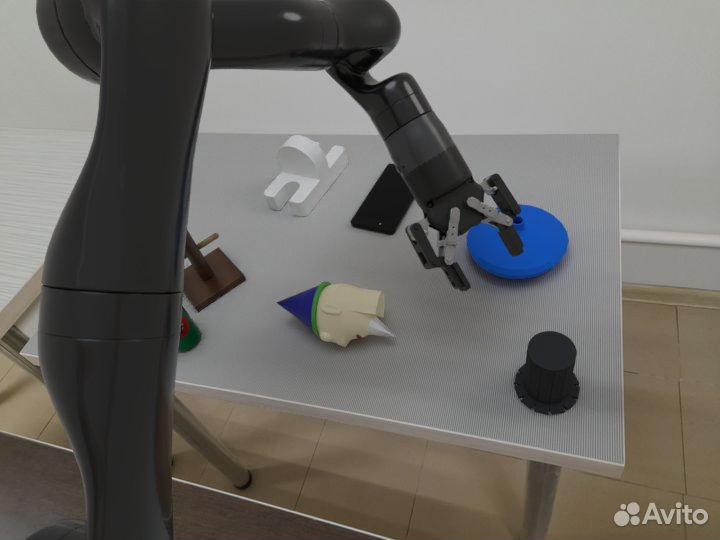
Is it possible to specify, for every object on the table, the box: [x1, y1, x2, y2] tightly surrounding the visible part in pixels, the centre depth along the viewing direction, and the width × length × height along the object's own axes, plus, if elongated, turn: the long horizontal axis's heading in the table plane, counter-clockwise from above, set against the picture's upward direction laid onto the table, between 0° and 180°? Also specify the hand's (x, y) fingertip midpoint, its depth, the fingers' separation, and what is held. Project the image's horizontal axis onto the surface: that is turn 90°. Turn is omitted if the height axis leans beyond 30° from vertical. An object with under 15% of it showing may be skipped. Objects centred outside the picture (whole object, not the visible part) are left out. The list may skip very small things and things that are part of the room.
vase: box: [466, 203, 570, 280], centre depth 84 cm, size 16×16×7 cm
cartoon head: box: [275, 281, 397, 348], centre depth 80 cm, size 9×10×20 cm
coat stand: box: [182, 229, 247, 313], centre depth 88 cm, size 11×10×20 cm
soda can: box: [178, 305, 201, 352], centre depth 82 cm, size 5×5×12 cm
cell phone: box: [350, 163, 415, 235], centre depth 100 cm, size 9×18×1 cm, turn 154°
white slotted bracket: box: [263, 134, 349, 218], centre depth 104 cm, size 10×18×11 cm, turn 152°
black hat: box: [513, 330, 581, 416], centre depth 66 cm, size 8×8×9 cm
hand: (492, 271), depth 65 cm, fingers open, 8 cm apart
